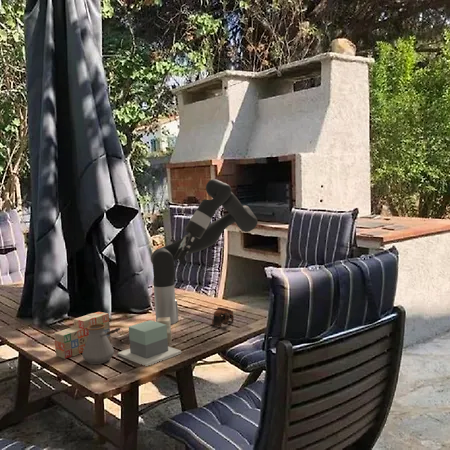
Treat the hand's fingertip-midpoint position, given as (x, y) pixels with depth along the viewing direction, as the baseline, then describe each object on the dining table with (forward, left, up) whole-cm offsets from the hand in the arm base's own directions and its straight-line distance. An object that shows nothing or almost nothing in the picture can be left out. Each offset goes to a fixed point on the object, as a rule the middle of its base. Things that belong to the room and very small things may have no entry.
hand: (177, 259), depth 206 cm
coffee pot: (+35, -1, -33) cm, 48 cm away
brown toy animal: (-23, +1, -33) cm, 40 cm away
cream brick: (+7, -3, -32) cm, 33 cm away
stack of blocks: (+32, -22, -33) cm, 51 cm away
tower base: (+20, +4, -32) cm, 38 cm away
